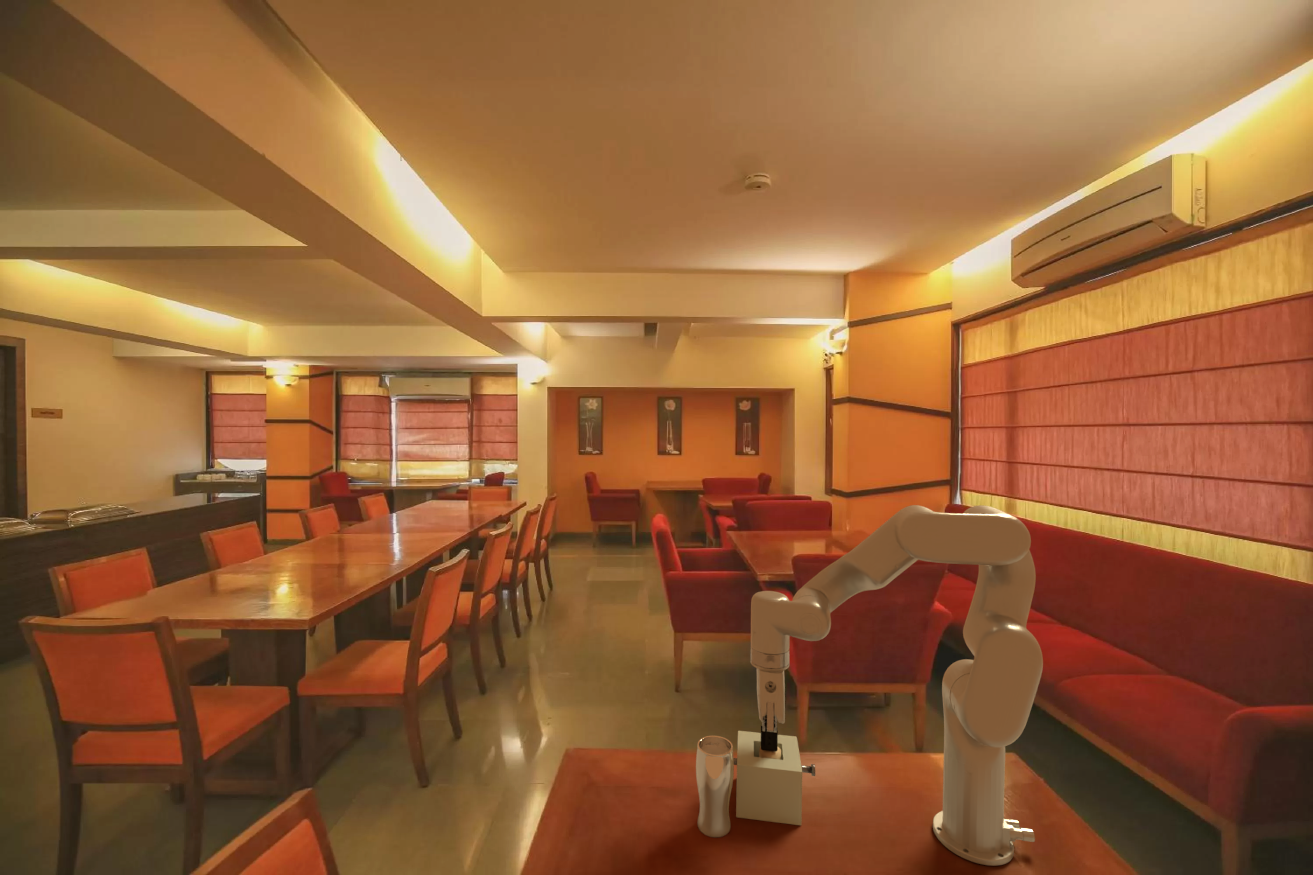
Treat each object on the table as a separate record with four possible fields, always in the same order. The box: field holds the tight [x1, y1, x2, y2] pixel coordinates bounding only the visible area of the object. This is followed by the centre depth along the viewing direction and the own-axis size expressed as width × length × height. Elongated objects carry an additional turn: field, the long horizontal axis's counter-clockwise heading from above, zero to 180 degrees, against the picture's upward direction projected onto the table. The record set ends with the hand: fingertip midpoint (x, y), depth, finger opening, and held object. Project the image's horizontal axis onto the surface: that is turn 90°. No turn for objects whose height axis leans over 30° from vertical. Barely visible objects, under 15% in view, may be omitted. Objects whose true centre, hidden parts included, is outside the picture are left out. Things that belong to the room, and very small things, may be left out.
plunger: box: [801, 763, 816, 777], centre depth 108 cm, size 6×2×2 cm, turn 80°
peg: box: [759, 747, 781, 760], centre depth 109 cm, size 4×4×10 cm
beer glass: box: [695, 735, 735, 838], centre depth 101 cm, size 7×7×15 cm
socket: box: [735, 730, 803, 826], centre depth 109 cm, size 12×12×10 cm
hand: (769, 748), depth 109 cm, fingers closed
